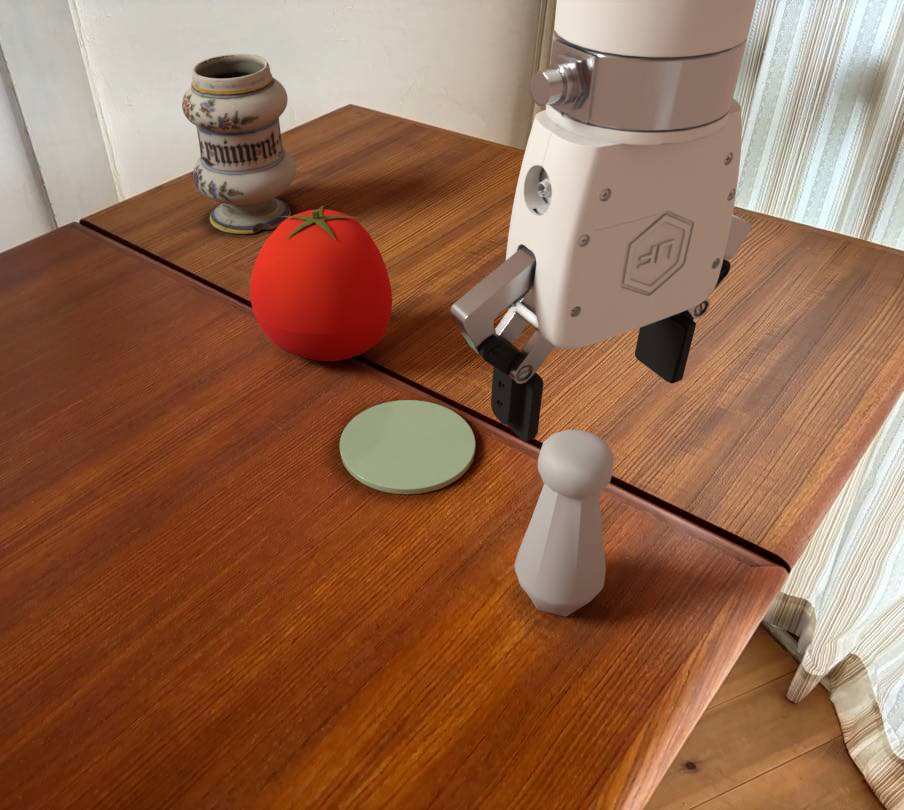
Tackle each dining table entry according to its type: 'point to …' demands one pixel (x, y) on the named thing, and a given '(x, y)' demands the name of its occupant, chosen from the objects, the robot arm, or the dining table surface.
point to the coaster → (407, 447)
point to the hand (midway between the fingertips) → (587, 396)
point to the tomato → (321, 287)
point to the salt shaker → (566, 524)
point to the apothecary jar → (240, 142)
